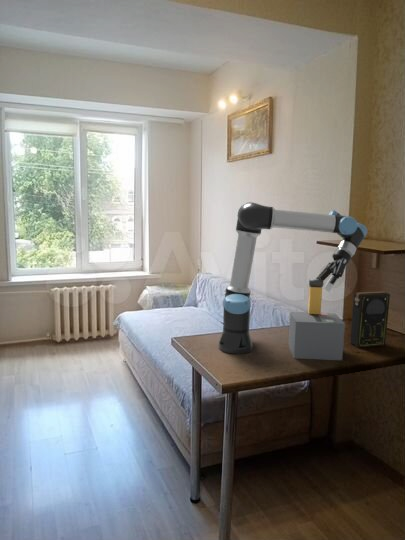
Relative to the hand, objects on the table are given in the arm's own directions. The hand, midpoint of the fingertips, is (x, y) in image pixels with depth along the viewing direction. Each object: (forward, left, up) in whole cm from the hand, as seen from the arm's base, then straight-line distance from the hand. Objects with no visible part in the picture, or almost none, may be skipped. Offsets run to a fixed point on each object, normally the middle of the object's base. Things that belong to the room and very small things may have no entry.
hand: (319, 291), depth 185 cm
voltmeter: (+21, +18, -27) cm, 39 cm away
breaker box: (0, -4, -27) cm, 27 cm away
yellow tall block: (-2, +1, -10) cm, 10 cm away
